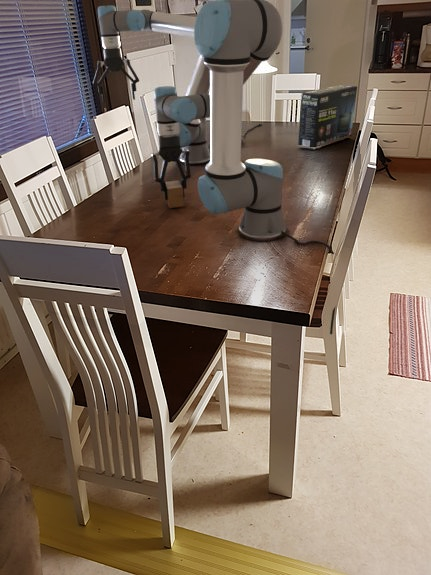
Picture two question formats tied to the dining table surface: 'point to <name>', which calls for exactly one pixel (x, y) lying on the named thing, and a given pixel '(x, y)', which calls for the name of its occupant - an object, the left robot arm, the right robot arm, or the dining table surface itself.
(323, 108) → the router box
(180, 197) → the brick
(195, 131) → the left robot arm
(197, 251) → the dining table surface
